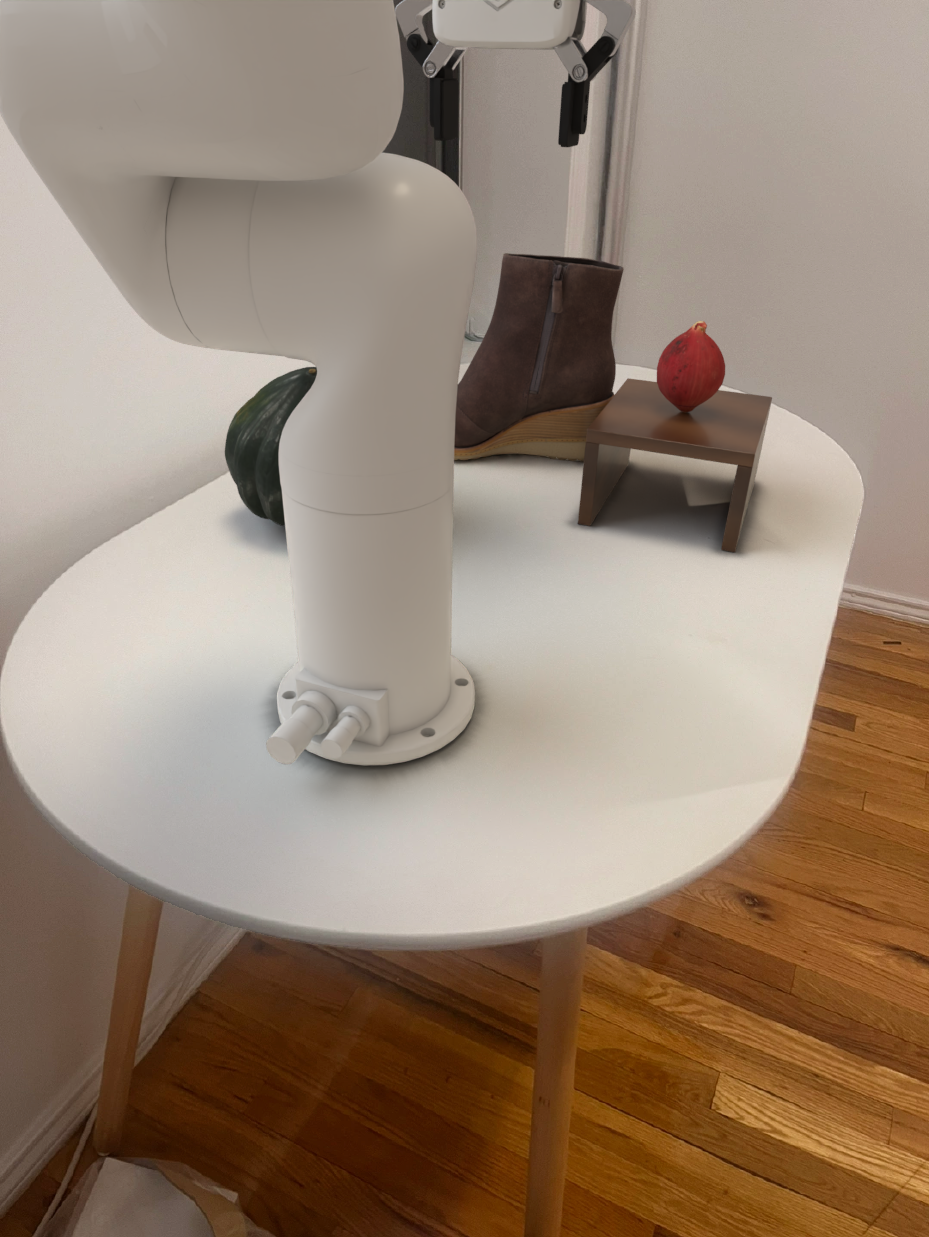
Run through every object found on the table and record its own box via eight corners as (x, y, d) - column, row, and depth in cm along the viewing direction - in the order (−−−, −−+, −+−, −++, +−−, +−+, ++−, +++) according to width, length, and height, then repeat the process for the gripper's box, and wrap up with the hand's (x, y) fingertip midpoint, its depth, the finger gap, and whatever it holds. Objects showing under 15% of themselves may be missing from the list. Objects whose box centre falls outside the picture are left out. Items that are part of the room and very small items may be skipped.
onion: (669, 425, 77) (683, 331, 72) (640, 404, 81) (652, 314, 77) (728, 420, 78) (746, 327, 74) (697, 399, 83) (711, 311, 78)
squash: (299, 413, 87) (232, 320, 73) (438, 442, 83) (395, 349, 69) (246, 542, 84) (166, 471, 70) (389, 578, 80) (333, 510, 66)
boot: (391, 430, 100) (386, 239, 89) (605, 442, 98) (627, 248, 87) (377, 459, 92) (369, 255, 82) (608, 472, 91) (632, 265, 80)
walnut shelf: (734, 552, 76) (755, 454, 71) (577, 523, 80) (586, 428, 75) (754, 484, 89) (772, 396, 84) (617, 462, 93) (627, 378, 88)
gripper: (370, -165, 56) (379, 140, 65) (639, -181, 51) (607, 152, 60) (418, -142, 62) (419, 135, 71) (663, -155, 57) (631, 145, 66)
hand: (505, 142), depth 66 cm, fingers open, 9 cm apart
